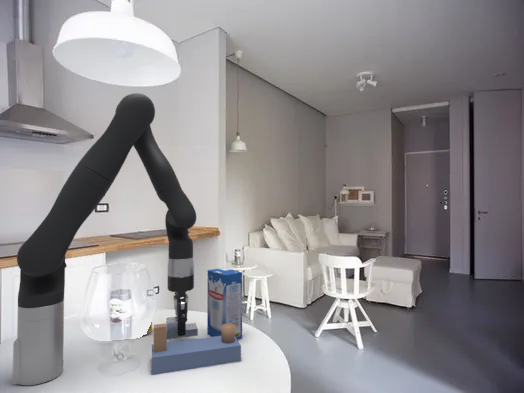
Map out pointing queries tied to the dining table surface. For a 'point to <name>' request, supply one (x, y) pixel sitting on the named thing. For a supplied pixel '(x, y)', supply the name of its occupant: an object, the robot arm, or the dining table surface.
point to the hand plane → (193, 350)
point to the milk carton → (224, 301)
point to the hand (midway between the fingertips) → (180, 331)
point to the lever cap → (173, 328)
